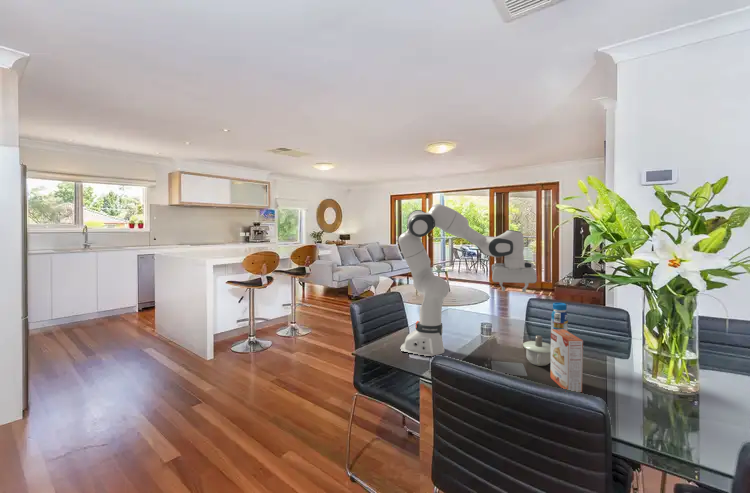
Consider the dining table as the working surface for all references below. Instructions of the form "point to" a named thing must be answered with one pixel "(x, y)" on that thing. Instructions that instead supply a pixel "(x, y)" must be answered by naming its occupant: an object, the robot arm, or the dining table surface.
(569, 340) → the cracker box
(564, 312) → the beverage bottle
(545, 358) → the teacup
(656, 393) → the dining table surface
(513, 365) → the mat
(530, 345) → the lid
